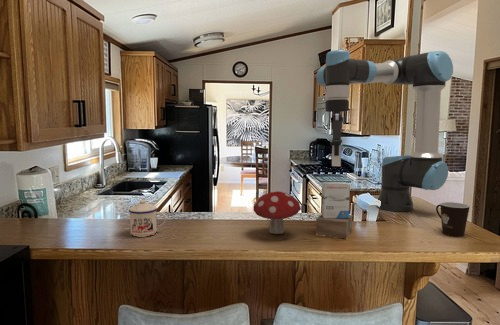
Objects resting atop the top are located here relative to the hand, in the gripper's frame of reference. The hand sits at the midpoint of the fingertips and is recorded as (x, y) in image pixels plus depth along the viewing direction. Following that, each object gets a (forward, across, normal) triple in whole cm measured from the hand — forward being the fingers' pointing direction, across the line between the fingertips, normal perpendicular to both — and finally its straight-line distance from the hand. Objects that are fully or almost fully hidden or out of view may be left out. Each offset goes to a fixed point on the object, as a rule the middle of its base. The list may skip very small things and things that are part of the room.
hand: (336, 163), depth 121 cm
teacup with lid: (+24, +14, -62) cm, 68 cm away
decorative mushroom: (+24, +6, -19) cm, 31 cm away
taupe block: (+24, 0, 0) cm, 24 cm away
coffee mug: (+24, -9, +39) cm, 47 cm away
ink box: (+18, 0, 0) cm, 18 cm away
